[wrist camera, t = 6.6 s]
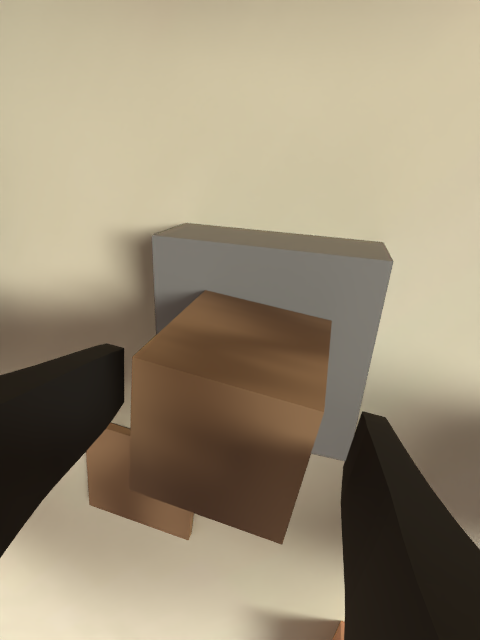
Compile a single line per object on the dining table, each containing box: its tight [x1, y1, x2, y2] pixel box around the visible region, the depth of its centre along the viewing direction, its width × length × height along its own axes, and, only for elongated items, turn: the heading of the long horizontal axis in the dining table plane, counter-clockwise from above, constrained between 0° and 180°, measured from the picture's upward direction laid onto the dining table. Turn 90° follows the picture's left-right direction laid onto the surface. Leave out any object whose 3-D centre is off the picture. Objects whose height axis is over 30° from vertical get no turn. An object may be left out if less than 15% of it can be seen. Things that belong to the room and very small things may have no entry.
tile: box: [86, 423, 194, 540], centre depth 22 cm, size 7×7×1 cm
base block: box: [152, 223, 393, 461], centre depth 15 cm, size 8×8×4 cm
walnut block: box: [129, 290, 332, 544], centre depth 11 cm, size 4×4×5 cm
